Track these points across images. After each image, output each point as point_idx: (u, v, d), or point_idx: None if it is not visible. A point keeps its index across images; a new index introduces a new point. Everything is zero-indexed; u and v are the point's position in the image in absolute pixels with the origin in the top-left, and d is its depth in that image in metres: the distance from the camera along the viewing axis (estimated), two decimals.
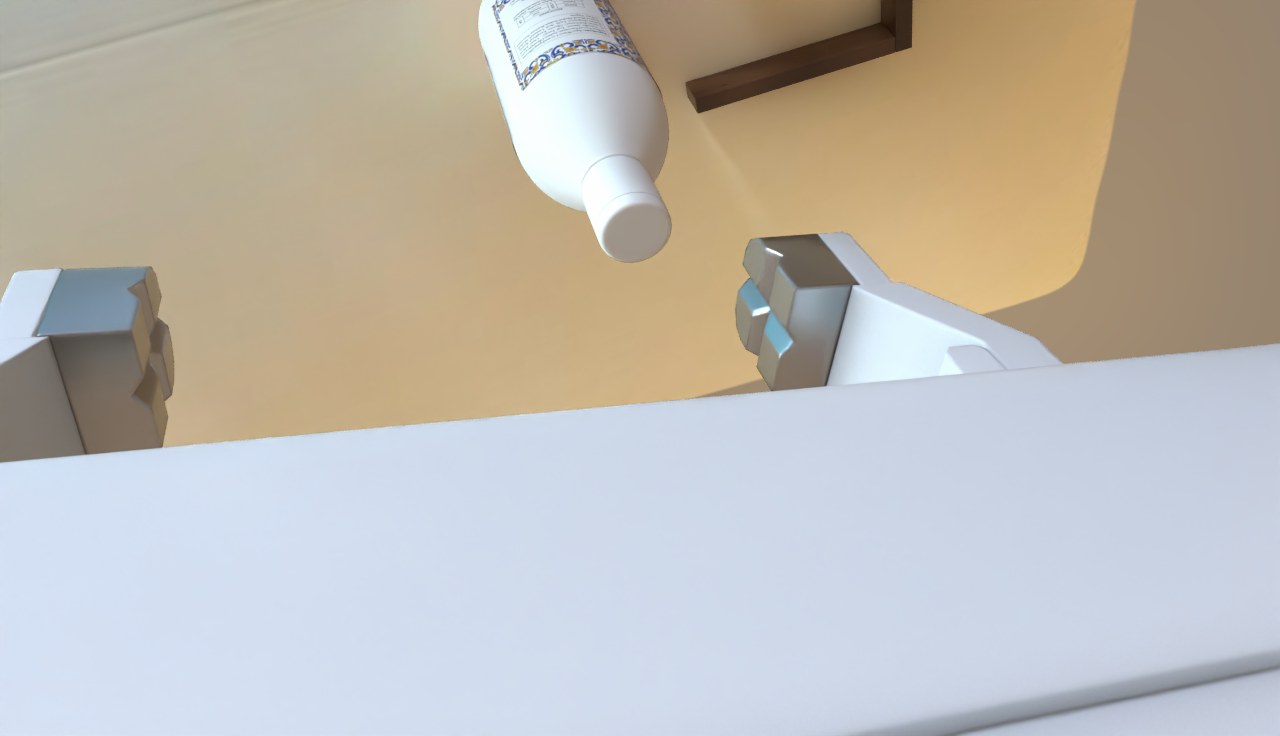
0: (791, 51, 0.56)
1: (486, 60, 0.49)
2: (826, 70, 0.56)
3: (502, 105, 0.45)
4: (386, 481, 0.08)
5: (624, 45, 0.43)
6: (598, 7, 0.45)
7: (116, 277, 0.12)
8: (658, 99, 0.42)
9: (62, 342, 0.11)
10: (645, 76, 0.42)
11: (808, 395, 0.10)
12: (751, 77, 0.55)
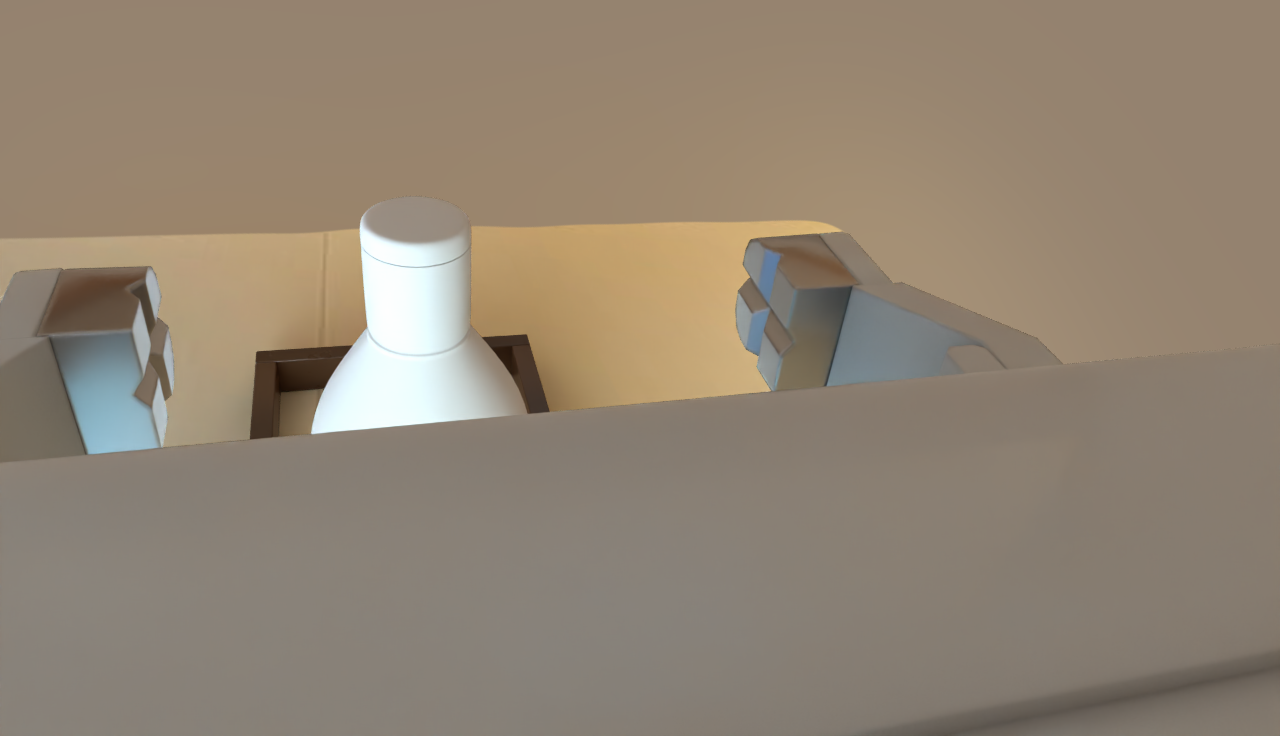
0: None
1: None
2: (539, 392, 0.50)
3: None
4: (385, 481, 0.08)
5: None
6: None
7: (117, 278, 0.12)
8: None
9: (62, 342, 0.11)
10: None
11: (808, 395, 0.10)
12: None
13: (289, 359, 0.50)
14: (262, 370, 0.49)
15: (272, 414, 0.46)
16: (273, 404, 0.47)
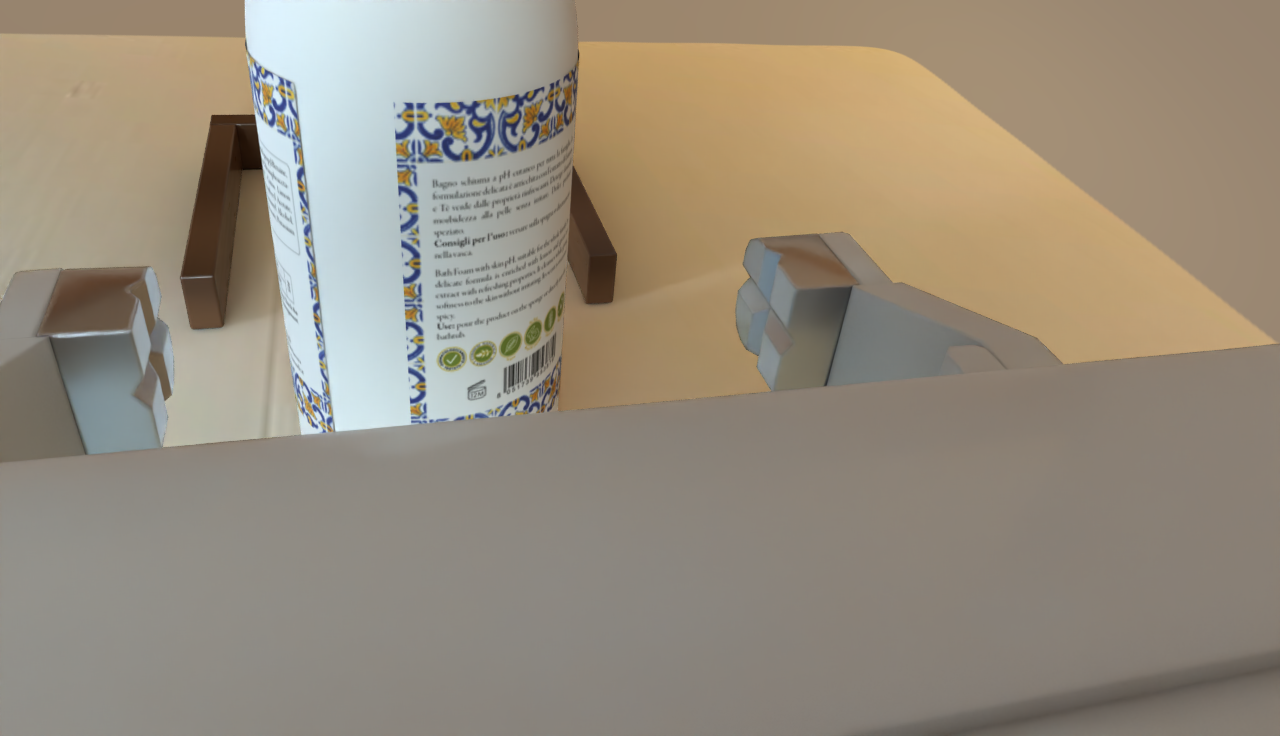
0: None
1: None
2: None
3: (403, 234, 0.20)
4: (385, 481, 0.08)
5: None
6: None
7: (117, 277, 0.12)
8: None
9: (62, 342, 0.11)
10: None
11: (808, 395, 0.10)
12: None
13: (252, 123, 0.40)
14: (217, 131, 0.39)
15: (227, 169, 0.36)
16: (229, 161, 0.37)
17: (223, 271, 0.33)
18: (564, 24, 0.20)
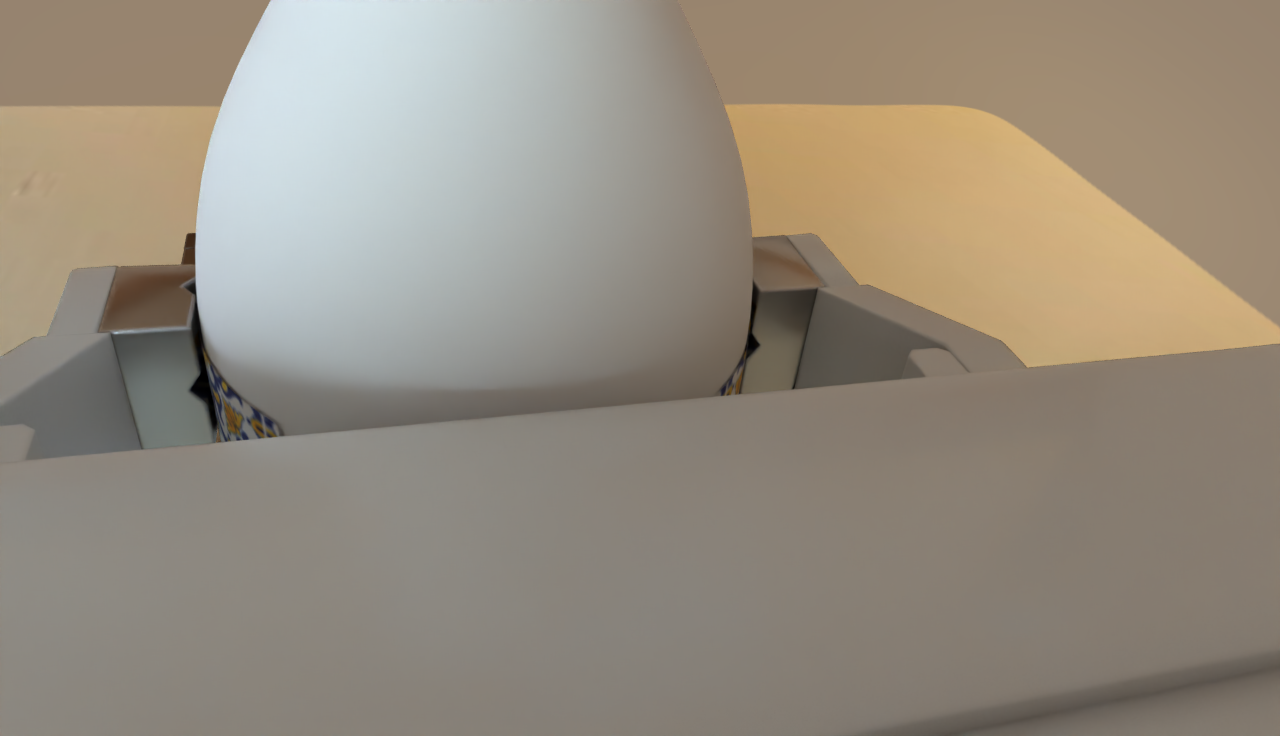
0: None
1: None
2: None
3: None
4: (385, 481, 0.08)
5: None
6: None
7: (171, 275, 0.12)
8: None
9: (123, 338, 0.11)
10: None
11: (808, 395, 0.10)
12: None
13: None
14: (193, 258, 0.31)
15: None
16: None
17: None
18: (744, 284, 0.12)
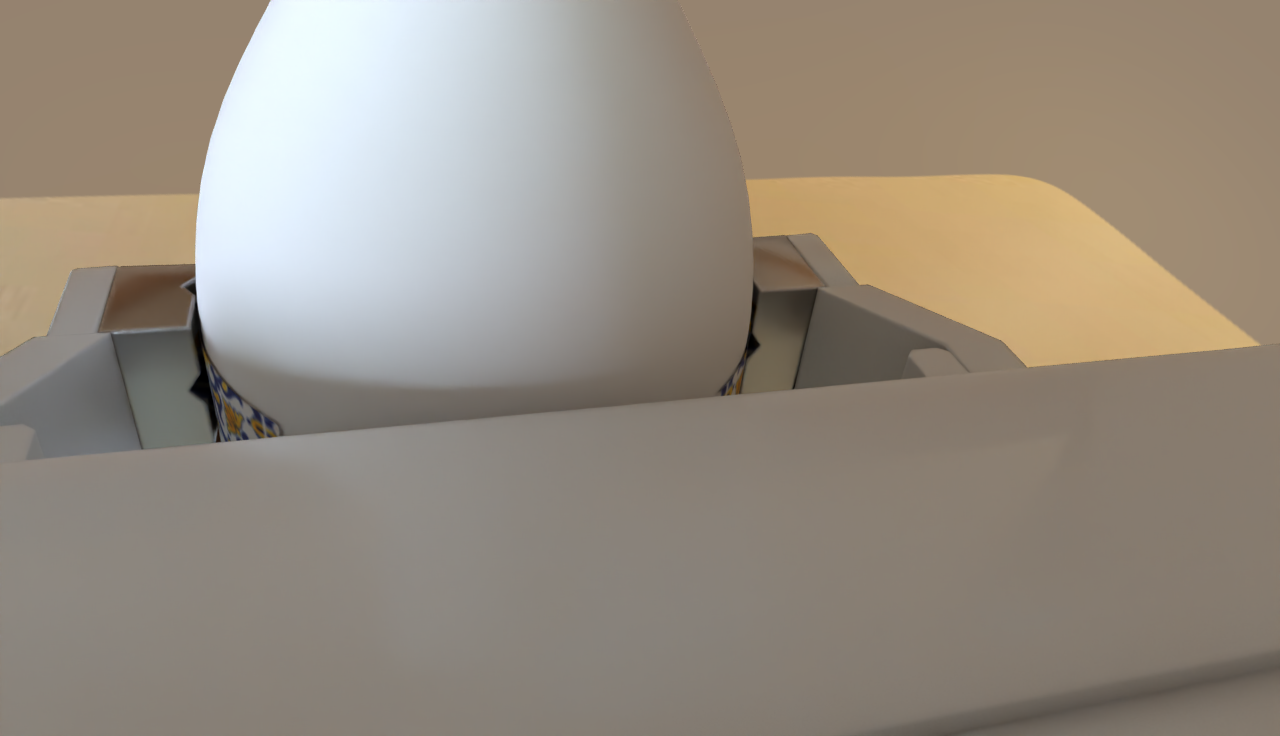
0: None
1: None
2: None
3: None
4: (385, 481, 0.08)
5: None
6: None
7: (172, 275, 0.12)
8: None
9: (123, 338, 0.11)
10: None
11: (808, 395, 0.10)
12: None
13: None
14: None
15: None
16: None
17: None
18: (745, 285, 0.12)
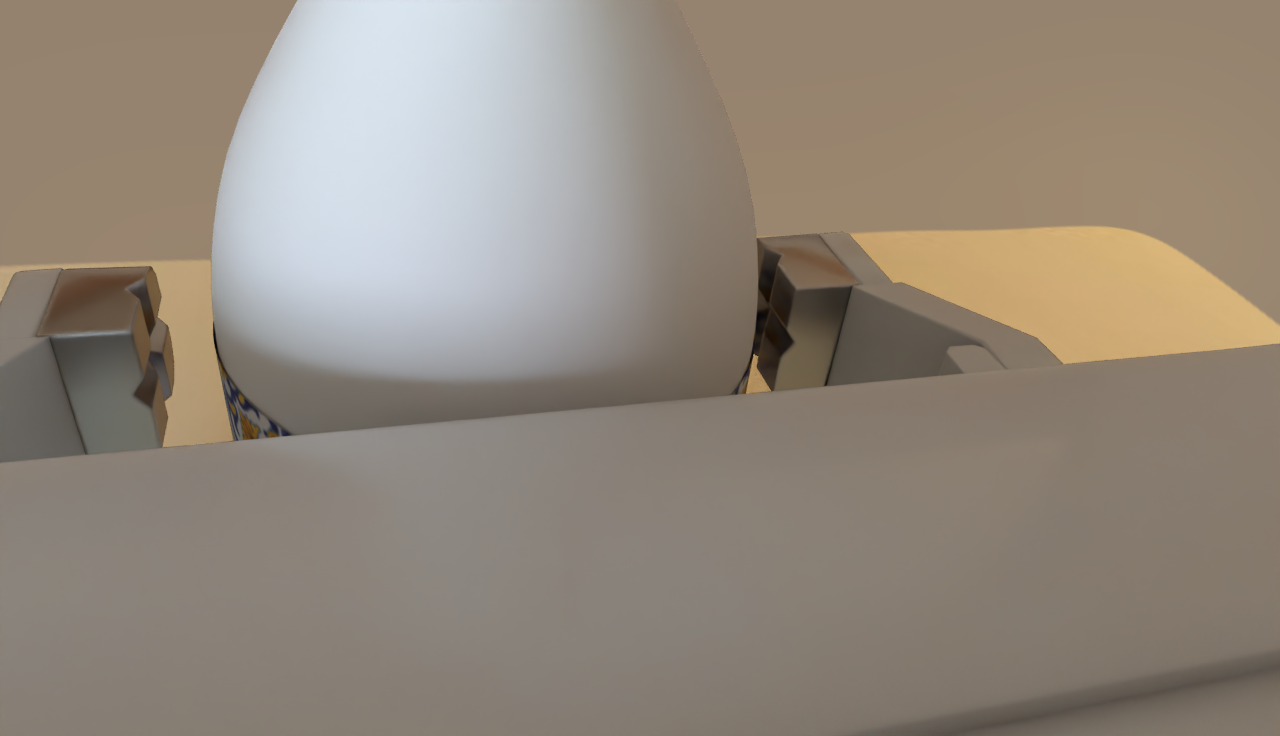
0: None
1: None
2: None
3: None
4: (385, 481, 0.08)
5: None
6: None
7: (117, 277, 0.12)
8: None
9: (62, 342, 0.11)
10: None
11: (808, 395, 0.10)
12: None
13: None
14: None
15: None
16: None
17: None
18: (750, 297, 0.12)
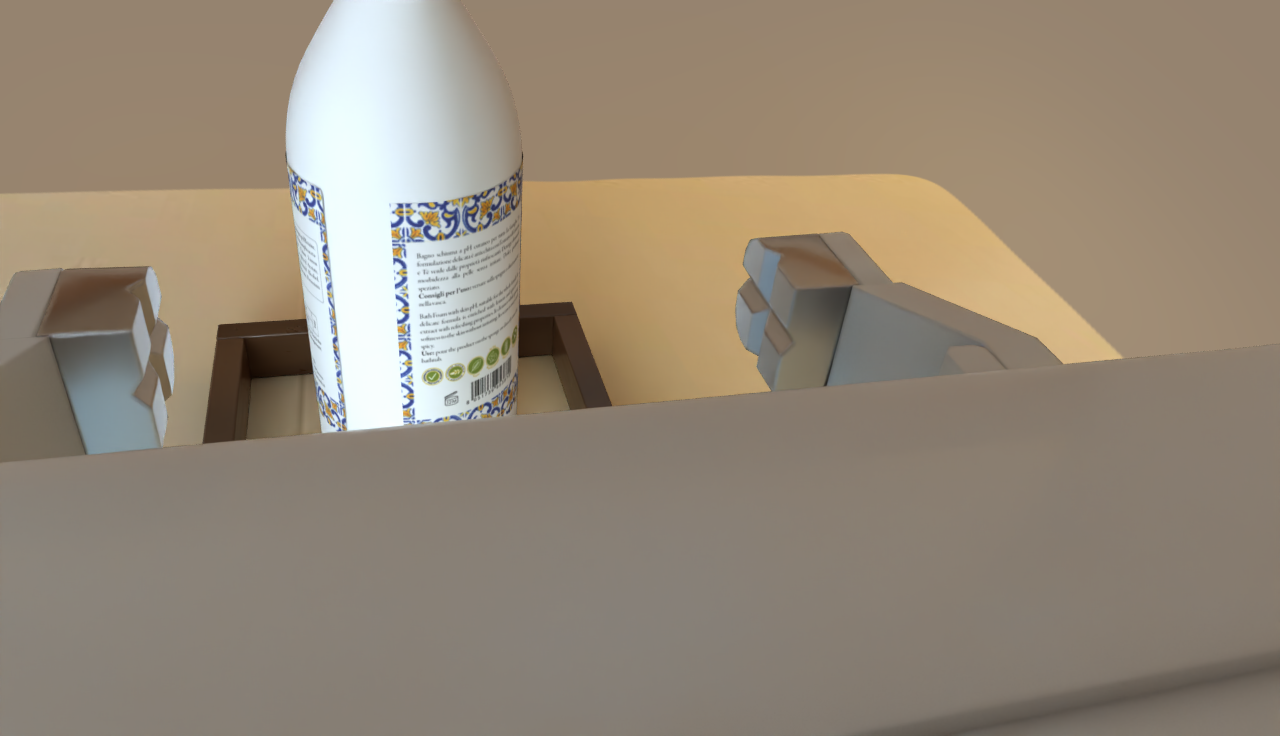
0: None
1: None
2: (594, 373, 0.37)
3: (397, 290, 0.28)
4: (387, 481, 0.08)
5: None
6: None
7: (117, 278, 0.12)
8: None
9: (62, 342, 0.11)
10: None
11: (808, 395, 0.10)
12: None
13: (261, 334, 0.38)
14: (225, 348, 0.37)
15: (236, 405, 0.34)
16: (238, 392, 0.35)
17: None
18: (509, 142, 0.28)
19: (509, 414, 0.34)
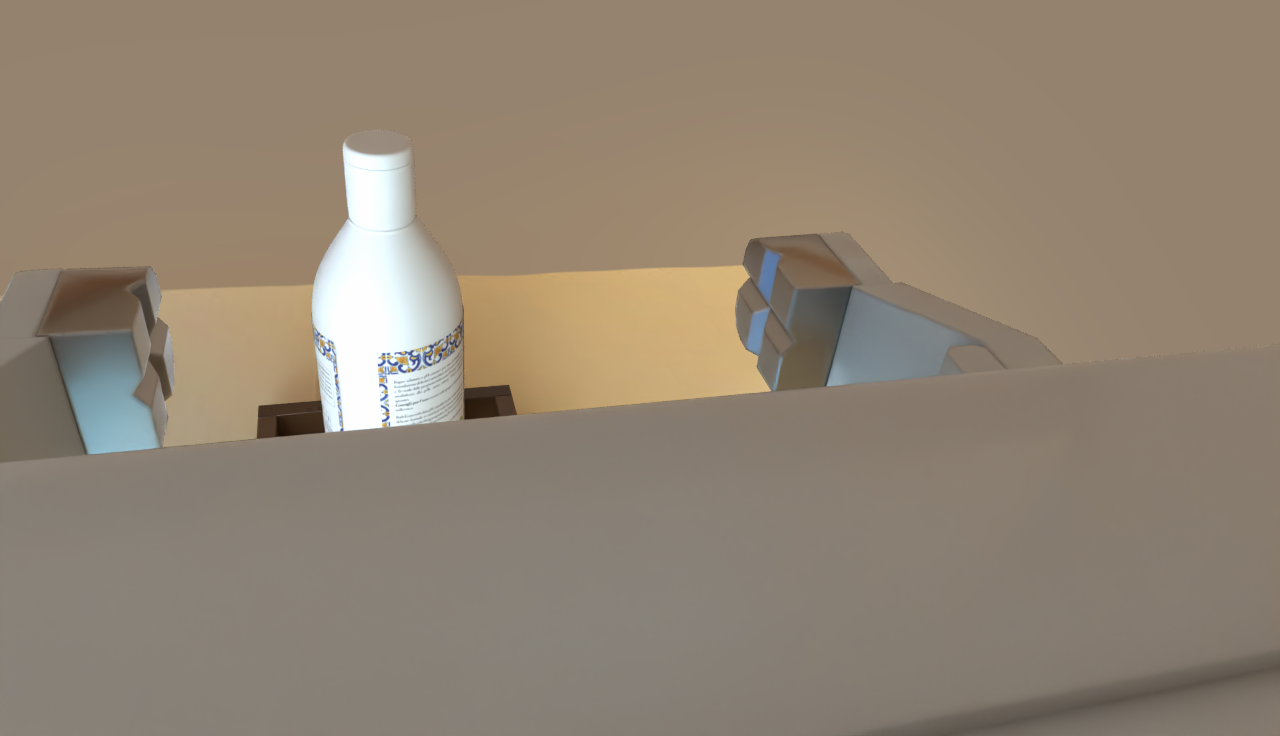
0: None
1: None
2: None
3: (381, 402, 0.45)
4: (385, 481, 0.08)
5: None
6: None
7: (117, 277, 0.12)
8: None
9: (62, 342, 0.11)
10: None
11: (808, 395, 0.10)
12: None
13: (289, 413, 0.54)
14: (264, 424, 0.53)
15: None
16: None
17: None
18: (452, 309, 0.45)
19: None
